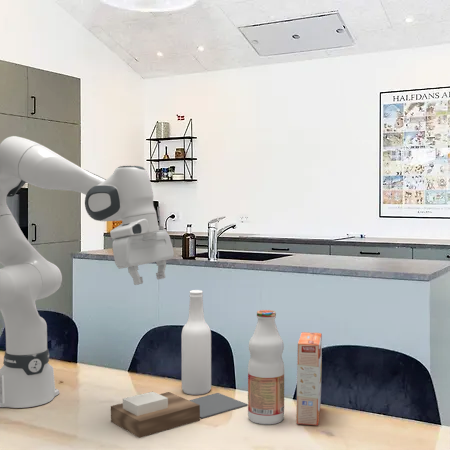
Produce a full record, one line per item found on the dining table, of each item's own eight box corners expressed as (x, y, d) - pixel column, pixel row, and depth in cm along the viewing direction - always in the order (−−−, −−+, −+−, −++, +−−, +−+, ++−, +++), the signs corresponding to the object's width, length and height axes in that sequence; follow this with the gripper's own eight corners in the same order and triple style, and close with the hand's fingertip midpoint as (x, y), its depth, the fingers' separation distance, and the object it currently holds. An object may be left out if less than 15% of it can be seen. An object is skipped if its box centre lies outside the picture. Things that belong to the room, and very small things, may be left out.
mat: (172, 405, 164) (172, 404, 164) (217, 394, 174) (217, 392, 174) (201, 418, 154) (201, 417, 154) (247, 405, 164) (247, 404, 164)
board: (110, 421, 152) (110, 406, 152) (169, 406, 164) (168, 391, 164) (139, 437, 142) (139, 421, 142) (199, 420, 153) (199, 405, 153)
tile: (122, 408, 151) (122, 398, 150) (152, 400, 156) (152, 391, 156) (137, 415, 145) (137, 405, 145) (167, 407, 151) (167, 398, 151)
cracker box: (319, 426, 149) (320, 343, 148) (295, 425, 150) (295, 342, 149) (322, 408, 162) (322, 332, 162) (299, 406, 164) (300, 331, 163)
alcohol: (217, 391, 177) (217, 291, 176) (194, 397, 171) (193, 293, 170) (198, 384, 184) (198, 287, 183) (175, 390, 178) (175, 290, 177)
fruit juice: (259, 427, 148) (259, 316, 147) (241, 415, 157) (241, 310, 156) (291, 421, 152) (291, 313, 151) (272, 410, 161) (272, 307, 160)
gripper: (155, 227, 161) (164, 277, 161) (105, 232, 144) (114, 289, 143) (174, 223, 158) (183, 274, 158) (125, 228, 141) (135, 286, 140)
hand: (150, 281), depth 150 cm, fingers open, 8 cm apart
